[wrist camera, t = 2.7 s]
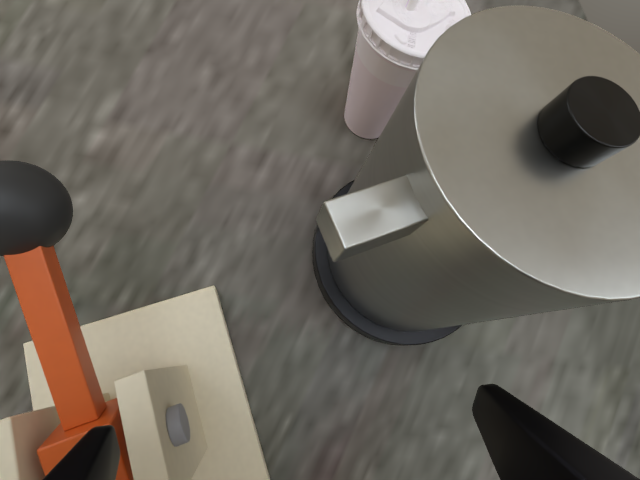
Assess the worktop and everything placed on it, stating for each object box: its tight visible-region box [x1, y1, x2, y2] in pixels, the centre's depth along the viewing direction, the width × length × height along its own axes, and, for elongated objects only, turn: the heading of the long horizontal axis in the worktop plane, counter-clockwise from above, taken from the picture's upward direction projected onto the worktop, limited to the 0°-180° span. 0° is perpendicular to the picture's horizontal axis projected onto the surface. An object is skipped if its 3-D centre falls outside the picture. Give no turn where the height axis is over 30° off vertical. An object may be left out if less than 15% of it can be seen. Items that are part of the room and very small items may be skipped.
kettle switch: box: [0, 161, 134, 480], centre depth 13 cm, size 12×3×3 cm, turn 19°
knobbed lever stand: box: [0, 286, 270, 480], centre depth 16 cm, size 12×10×10 cm
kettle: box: [312, 6, 640, 345], centre depth 18 cm, size 16×12×16 cm
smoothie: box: [344, 0, 471, 139], centre depth 22 cm, size 6×6×14 cm
